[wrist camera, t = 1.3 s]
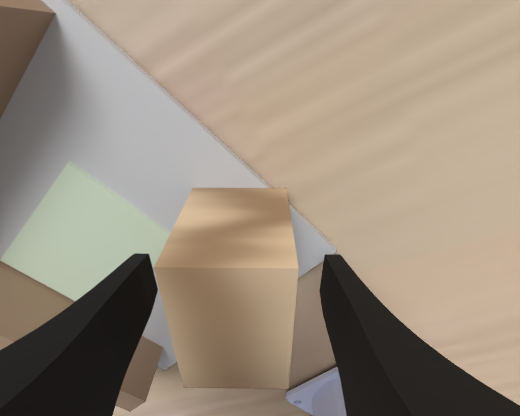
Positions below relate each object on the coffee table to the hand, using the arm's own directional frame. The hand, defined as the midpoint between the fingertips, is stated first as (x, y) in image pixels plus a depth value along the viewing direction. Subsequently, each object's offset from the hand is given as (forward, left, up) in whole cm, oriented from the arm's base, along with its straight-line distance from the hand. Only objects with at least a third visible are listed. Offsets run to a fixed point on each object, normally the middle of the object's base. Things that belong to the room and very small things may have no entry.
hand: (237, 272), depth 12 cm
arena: (+5, +5, -2) cm, 7 cm away
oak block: (0, 0, -2) cm, 2 cm away
